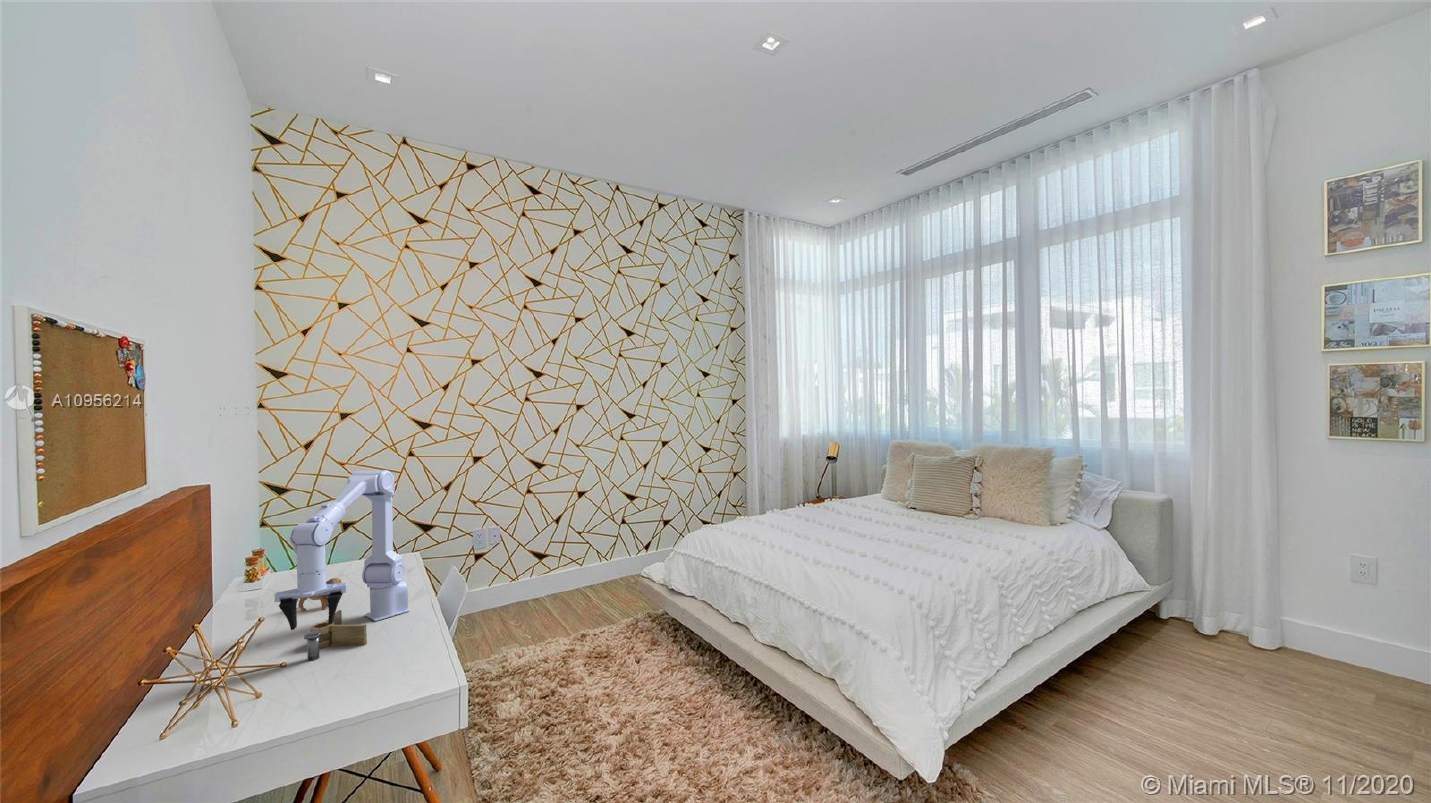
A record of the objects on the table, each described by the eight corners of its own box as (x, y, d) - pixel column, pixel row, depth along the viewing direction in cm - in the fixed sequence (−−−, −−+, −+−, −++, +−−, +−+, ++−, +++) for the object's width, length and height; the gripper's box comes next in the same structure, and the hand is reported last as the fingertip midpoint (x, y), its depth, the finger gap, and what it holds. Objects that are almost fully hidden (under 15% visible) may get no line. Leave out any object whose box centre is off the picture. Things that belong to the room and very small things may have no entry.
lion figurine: (345, 602, 173) (345, 574, 173) (338, 608, 168) (337, 580, 168) (293, 607, 170) (292, 579, 170) (283, 614, 164) (283, 584, 164)
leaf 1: (329, 645, 140) (329, 628, 140) (307, 648, 139) (306, 631, 139) (350, 624, 154) (350, 608, 154) (330, 626, 153) (329, 611, 153)
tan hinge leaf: (305, 648, 140) (305, 629, 140) (321, 640, 145) (320, 621, 145) (358, 648, 139) (358, 629, 139) (372, 640, 144) (371, 621, 144)
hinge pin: (320, 653, 136) (319, 628, 136) (324, 657, 134) (324, 632, 134) (302, 659, 134) (302, 634, 134) (307, 663, 131) (306, 637, 131)
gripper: (269, 579, 127) (270, 637, 127) (342, 570, 133) (344, 625, 133) (279, 571, 134) (280, 626, 134) (348, 563, 140) (350, 615, 140)
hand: (312, 625), depth 134 cm, fingers open, 7 cm apart
